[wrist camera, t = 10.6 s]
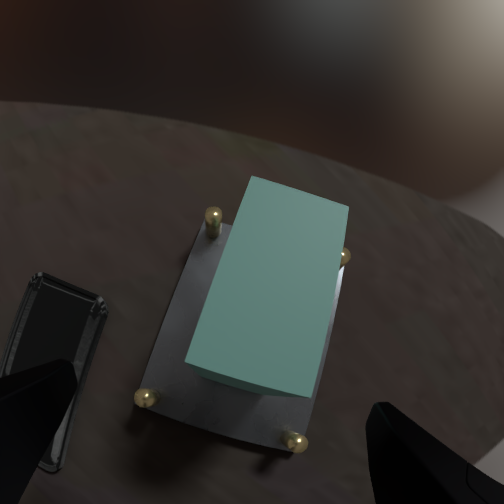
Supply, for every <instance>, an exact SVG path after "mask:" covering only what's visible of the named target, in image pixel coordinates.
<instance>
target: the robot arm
mask: <svg viewBox="0 0 504 504" xmlns="http://www.w3.org/2000/svg"><path fill="white" fill-rule="evenodd" d="M77 387H78V381H77V377H76V373H75V369H74V365H73V363H72V362H71V361H69V360H66V359H62V358H60V359H57V360H54V361H51V362H48V363H45V364H42V365H39V366H36V367H33V368H29V369H26V370H23V371H20V372H17V373H14V374H11V375H7V376H4V377H1V378H0V504H18V502H19V500H20V498H21V496H22V494H23V493H24V491H25V489H26V487H27V485H28V483H29V481H30V479H31V477H32V475H33V473H34V471H35V470H36V468H37V466H38V464H39V462H40V460H41V459H42V457H43V455H44V453H45V451H46V450H47V448H48V446H49V444H50V443H51V441H52V439H53V437H54V436H55V434H56V432H57V430H58V429H59V427H60V425H61V423H62V421H63V419H64V417H65V414H66V412H67V410H68V408H69V405H70V403H71V401H72V399H73V397H74V395H75V392H76V390H77ZM365 430H366V440H367V450H368V462H369V472H370V477H371V482H372V487H373V492H374V497H375V502H376V504H504V485H502V484H501V483H499V482H497V481H495V480H494V479H492V478H490V477H489V476H487V475H486V474H484V473H483V472H481V471H480V470H479V469H477V468H476V467H474V466H473V465H472V464H470V463H467V461H466V460H465V459H463V458H462V457H460V456H459V455H458V454H456V453H455V452H454V451H452V450H451V449H450V448H448V447H447V446H446V445H444V444H443V443H442V442H440V441H439V440H438V439H436V438H435V437H434V436H432V435H431V434H430V433H428V432H427V431H426V430H424V429H423V428H422V427H420V426H419V425H418V424H416V423H415V422H414V421H413V420H411V419H410V418H409V417H407V416H406V415H405V414H403V413H402V412H401V411H400V410H398V409H397V408H396V407H394V406H393V405H392V404H391V403H389V402H376V403H374V405H373V407H372V409H371V412H370V414H369V417H368V419H367V422H366V427H365Z"/></svg>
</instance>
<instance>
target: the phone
mask: <svg viewBox="0 0 504 504" xmlns="http://www.w3.org/2000/svg"><path fill="white" fill-rule="evenodd" d="M107 316H108V306H107V303H106V302H105V301H104V299H102V298H101V297H100V296H99V295H97V294H94V293H92V292H89V291H87V290H84V289H82V288H79V287H77V286H74V285H72V284H70V283H67V282H65V281H63V280H60V279H58V278H56V277H53V276H51V275H49V274H47V273H44V272H39V273H36V274H35V275H34V276H33V277H32V278H31V280H30V282H29V284H28V286H27V289H26V291H25V293H24V296H23V298H22V301H21V303H20V306H19V309H18V311H17V314H16V317H15V319H14V322H13V325H12V328H11V331H10V334H9V337H8V340H7V343H6V346H5V349H4V352H3V356H2V359H1V362H0V378H1V377H4V376H7V375H11V374H14V373H17V372H20V371H23V370H26V369H29V368H33V367H36V366H39V365H42V364H45V363H48V362H51V361H54V360H57V359H60V358H62V359H66V360H69V361H71V362H72V363H73V365H74V369H75V373H76V377H77V381H78V387H77V390H76V392H75V395H74V397H73V399H72V401H71V403H70V405H69V408H68V410H67V412H66V414H65V417H64V419H63V421H62V423H61V425H60V427H59V429H58V430H57V432H56V434H55V436H54V437H53V439H52V441H51V443H50V444H49V446H48V448H47V450H46V451H45V453H44V455H43V457H42V459H41V460H40V462H39V464H38V466H40V467H41V468H43V469H45V470H47V471H49V472H54V471H57V470H59V469H61V468H62V467H63V465H64V462H65V457H66V453H67V448H68V444H69V440H70V435H71V431H72V427H73V424H74V420H75V416H76V412H77V408H78V405H79V401H80V398H81V394H82V391H83V388H84V384H85V381H86V378H87V374H88V371H89V368H90V365H91V362H92V359H93V356H94V353H95V350H96V347H97V344H98V341H99V338H100V336H101V333H102V330H103V327H104V324H105V322H106V319H107Z"/></svg>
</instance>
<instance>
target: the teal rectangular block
mask: <svg viewBox="0 0 504 504" xmlns="http://www.w3.org/2000/svg"><path fill="white" fill-rule="evenodd" d="M348 210H349V207H348V206H345V205H342V204H339V203H336V202H333V201H330V200H327V199H324V198H321V197H318V196H315V195H312V194H309V193H306V192H303V191H300V190H297V189H294V188H291V187H287V186H284V185H281V184H278V183H274V182H271V181H268V180H265V179H261V178H258V177H254V176H251V179H250V182H249V184H248V187H247V190H246V192H245V195H244V197H243V200H242V203H241V205H240V208H239V211H238V213H237V216H236V219H235V221H234V224H233V227H232V229H231V232H230V235H229V237H228V240H227V243H226V246H225V248H224V251H223V254H222V257H221V259H220V262H219V265H218V268H217V270H216V273H215V276H214V279H213V281H212V284H211V287H210V290H209V293H208V295H207V298H206V301H205V304H204V307H203V310H202V312H201V315H200V318H199V321H198V324H197V327H196V330H195V332H194V335H193V338H192V341H191V344H190V347H189V350H188V353H187V356H186V359H185V363H186V364H187V365H188V366H190V367H191V368H192V369H193V370H194V371H195V372H196V373H197V374H198V375H199V376H201V377H204V378H207V379H210V380H213V381H216V382H219V383H223V384H226V385H229V386H233V387H236V388H239V389H243V390H246V391H250V392H254V393H257V394H261V395H268V396H282V397H301V398H311V396H312V393H313V389H314V385H315V381H316V377H317V373H318V369H319V365H320V361H321V356H322V352H323V348H324V343H325V339H326V334H327V330H328V325H329V321H330V316H331V311H332V306H333V301H334V296H335V290H336V285H337V280H338V274H339V268H340V263H341V257H342V250H343V244H344V238H345V231H346V224H347V217H348Z"/></svg>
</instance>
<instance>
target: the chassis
mask: <svg viewBox="0 0 504 504" xmlns="http://www.w3.org/2000/svg"><path fill="white" fill-rule="evenodd" d="M232 227H233V226H231V225H228V224H224V223H222V211H221V210H220V209H219V208H218V207H210V208H208V209H207V210H206V212H205V220H204V222H203V224H202V227H201V229H200V231H199V234H198V236H197V238H196V241H195V243H194V246H193V248H192V250H191V253H190V255H189V258H188V260H187V263H186V265H185V267H184V270H183V272H182V275H181V277H180V280H179V282H178V285H177V287H176V290H175V293H174V295H173V298H172V300H171V303H170V305H169V308H168V311H167V313H166V316H165V319H164V321H163V324H162V326H161V329H160V332H159V335H158V337H157V340H156V343H155V345H154V348H153V351H152V354H151V357H150V359H149V362H148V365H147V368H146V371H145V374H144V376H143V379H142V382H141V385H140V388H139V390H137V391H136V392H135V395H134V400H135V403H134V404H136V405H138V406H140V407H143V408H146V409H148V410H151V411H153V412H156V413H159V414H161V415H164V416H167V417H169V418H172V419H175V420H177V421H180V422H183V423H186V424H189V425H192V426H195V427H198V428H201V429H204V430H207V431H211V432H214V433H217V434H221V435H224V436H228V437H231V438H235V439H239V440H243V441H246V442H250V443H254V444H259V445H263V446H267V447H272V448H276V449H281V450H286V451H291V452H294V453H301V452H303V451H304V450H306V448H307V446H308V440H307V438H306V437H304V436H305V433H306V430H307V426H308V423H309V419H310V416H311V412H312V409H313V405H314V401H315V398H316V394H317V390H318V386H319V382H320V378H321V374H322V370H323V366H324V362H325V358H326V354H327V349H328V345H329V340H330V336H331V331H332V327H333V322H334V317H335V312H336V307H337V302H338V297H339V291H340V286H341V280H342V275H343V269H344V265H345V264H346V263H347V262H348V261H349V260H350V257H351V255H350V252H349V250H348V249H346V248H344V247H343V250H342V257H341V263H340V268H339V274H338V280H337V285H336V290H335V296H334V301H333V306H332V311H331V316H330V321H329V325H328V330H327V334H326V339H325V343H324V348H323V352H322V356H321V361H320V365H319V369H318V373H317V377H316V381H315V385H314V389H313V393H312V396H311V398H301V397H282V396H268V395H261V394H257V393H254V392H250V391H246V390H243V389H239V388H236V387H233V386H229V385H226V384H223V383H219V382H216V381H213V380H210V379H207V378H204V377H201V376H199V375H198V374H197V373H196V372H195V371H194V370H193V369H192V368H191V367H190V366H188V365H187V364H186V363H185V359H186V356H187V353H188V350H189V347H190V344H191V341H192V338H193V335H194V332H195V330H196V327H197V324H198V321H199V318H200V315H201V312H202V310H203V307H204V304H205V301H206V298H207V295H208V293H209V290H210V287H211V284H212V281H213V279H214V276H215V273H216V270H217V268H218V265H219V262H220V259H221V257H222V254H223V251H224V248H225V246H226V243H227V240H228V237H229V235H230V232H231V229H232Z"/></svg>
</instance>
